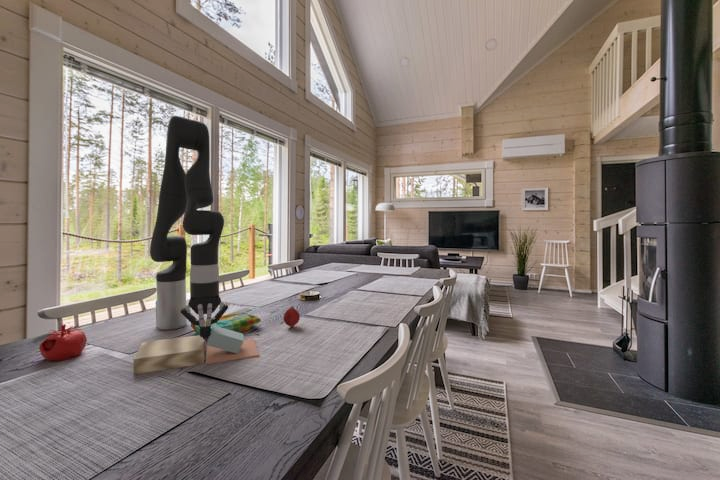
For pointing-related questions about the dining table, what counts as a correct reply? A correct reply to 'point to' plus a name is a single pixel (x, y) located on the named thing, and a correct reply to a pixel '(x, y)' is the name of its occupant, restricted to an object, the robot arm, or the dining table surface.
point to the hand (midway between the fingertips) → (205, 337)
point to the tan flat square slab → (221, 355)
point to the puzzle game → (232, 322)
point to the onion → (291, 317)
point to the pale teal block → (225, 339)
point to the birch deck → (169, 354)
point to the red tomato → (63, 344)
